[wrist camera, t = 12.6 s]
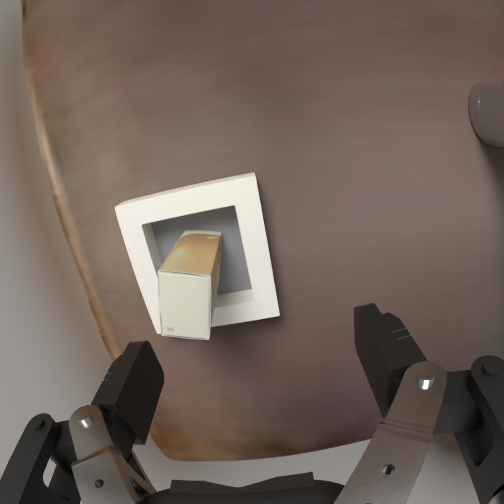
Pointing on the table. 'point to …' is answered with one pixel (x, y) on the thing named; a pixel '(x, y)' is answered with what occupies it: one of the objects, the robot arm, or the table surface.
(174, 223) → the holder
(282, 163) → the table surface
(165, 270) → the skincare box
